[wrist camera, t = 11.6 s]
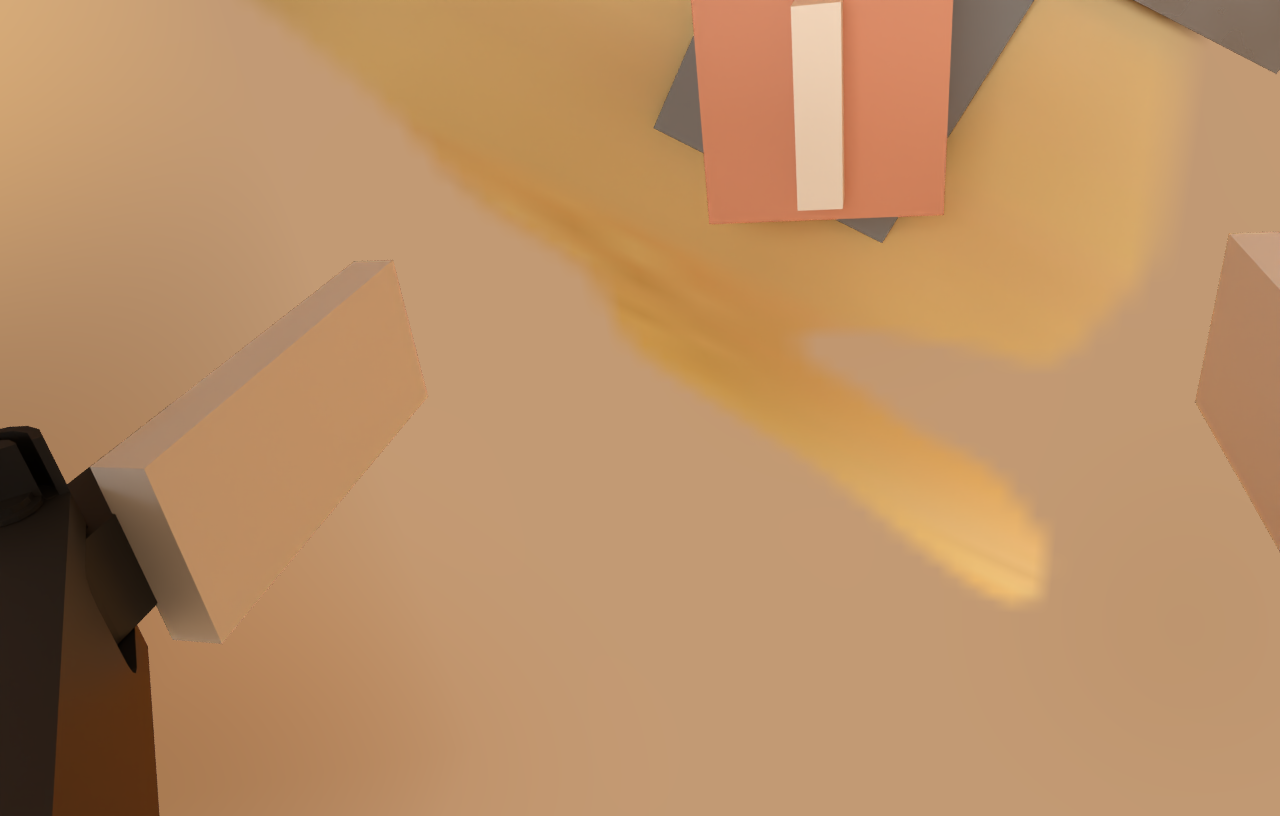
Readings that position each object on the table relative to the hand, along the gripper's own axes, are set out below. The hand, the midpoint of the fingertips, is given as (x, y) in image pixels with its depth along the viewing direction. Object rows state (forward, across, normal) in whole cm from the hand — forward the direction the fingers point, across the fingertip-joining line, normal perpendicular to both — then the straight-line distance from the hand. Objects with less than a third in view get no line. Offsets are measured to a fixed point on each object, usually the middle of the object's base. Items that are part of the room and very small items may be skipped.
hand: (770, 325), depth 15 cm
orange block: (+22, 0, 0) cm, 22 cm away
